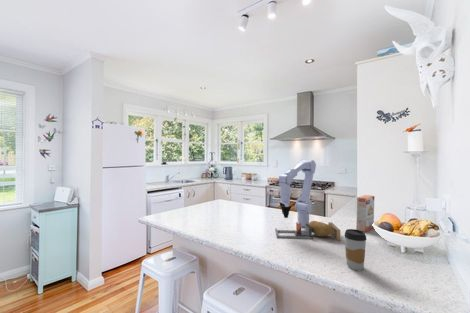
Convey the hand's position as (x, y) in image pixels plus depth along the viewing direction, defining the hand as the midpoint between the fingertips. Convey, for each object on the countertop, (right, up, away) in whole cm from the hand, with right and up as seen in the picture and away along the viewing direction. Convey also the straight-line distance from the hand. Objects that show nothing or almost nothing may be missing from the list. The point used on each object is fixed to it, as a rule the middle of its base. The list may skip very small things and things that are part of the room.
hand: (285, 215), depth 139 cm
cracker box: (+53, -10, +5) cm, 54 cm away
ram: (+9, -10, -6) cm, 14 cm away
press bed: (+11, -10, -6) cm, 16 cm away
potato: (+19, -10, -7) cm, 23 cm away
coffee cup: (+20, -11, -43) cm, 49 cm away
